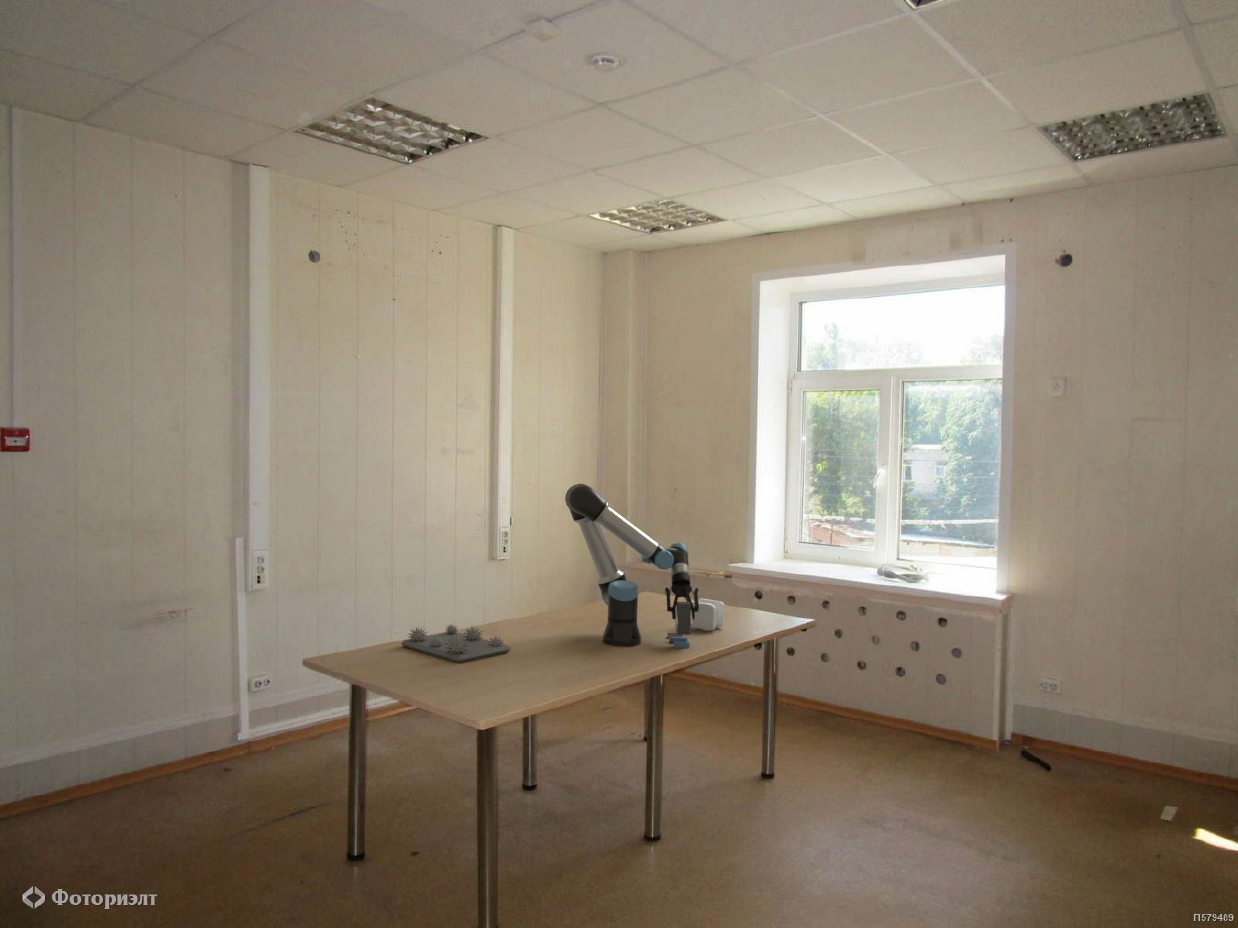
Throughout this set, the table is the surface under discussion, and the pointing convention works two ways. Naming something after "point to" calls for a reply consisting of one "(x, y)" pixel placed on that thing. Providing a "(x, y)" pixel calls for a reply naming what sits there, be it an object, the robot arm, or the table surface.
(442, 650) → the decorative tray
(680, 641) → the blue flat block
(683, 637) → the pair of grey bars
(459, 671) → the table surface
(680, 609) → the dark grey rectangular block
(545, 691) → the table surface
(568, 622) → the table surface
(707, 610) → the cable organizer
